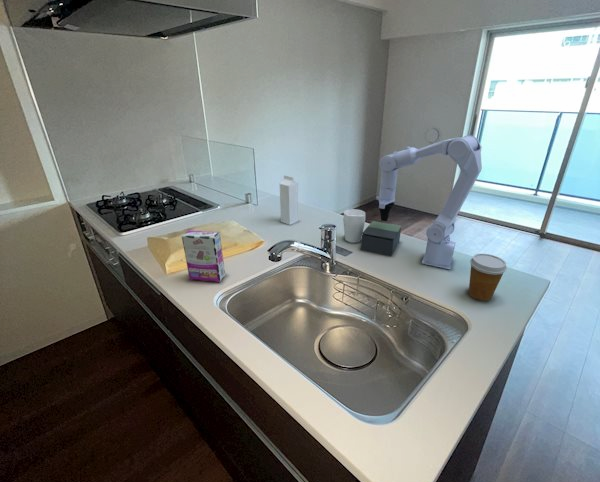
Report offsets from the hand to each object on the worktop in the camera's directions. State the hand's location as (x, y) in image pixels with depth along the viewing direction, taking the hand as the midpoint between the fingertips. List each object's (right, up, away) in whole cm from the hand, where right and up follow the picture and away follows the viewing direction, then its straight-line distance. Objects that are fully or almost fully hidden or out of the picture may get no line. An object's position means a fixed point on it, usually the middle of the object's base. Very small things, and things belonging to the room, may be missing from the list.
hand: (384, 220), depth 127 cm
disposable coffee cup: (+22, -25, -28) cm, 44 cm away
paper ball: (0, -6, +5) cm, 8 cm away
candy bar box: (-65, -21, -18) cm, 70 cm away
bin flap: (+1, -3, +3) cm, 4 cm away
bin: (-1, -10, +3) cm, 11 cm away
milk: (-38, +1, +28) cm, 47 cm away
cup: (-11, -8, +9) cm, 16 cm away
